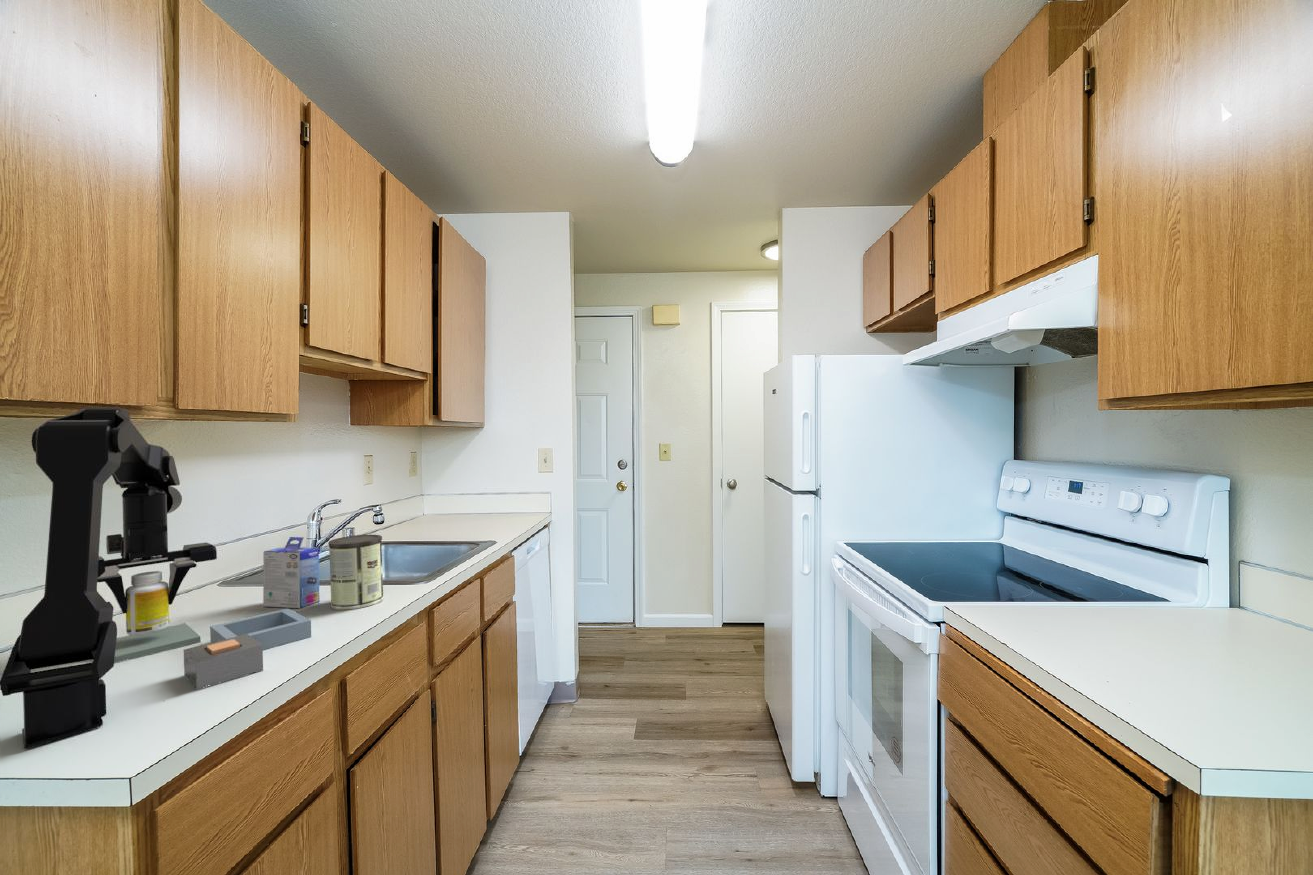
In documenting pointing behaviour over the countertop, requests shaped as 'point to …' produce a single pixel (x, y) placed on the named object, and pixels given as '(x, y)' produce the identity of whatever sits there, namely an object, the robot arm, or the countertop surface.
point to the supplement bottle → (147, 604)
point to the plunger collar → (222, 662)
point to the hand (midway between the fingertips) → (147, 608)
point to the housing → (266, 628)
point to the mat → (154, 642)
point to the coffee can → (356, 571)
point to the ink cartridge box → (291, 575)
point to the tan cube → (222, 646)
